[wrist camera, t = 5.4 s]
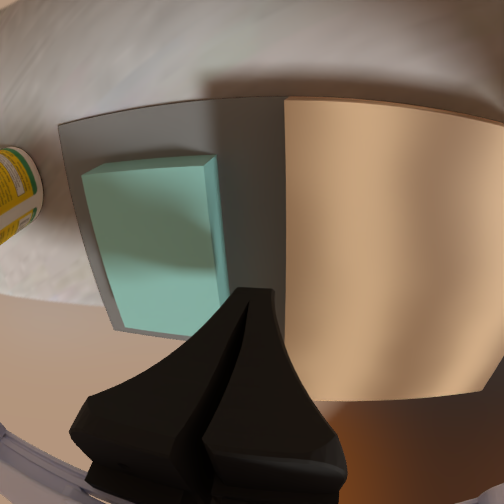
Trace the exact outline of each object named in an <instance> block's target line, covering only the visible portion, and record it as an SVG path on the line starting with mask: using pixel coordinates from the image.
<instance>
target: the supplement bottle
mask: <svg viewBox="0 0 504 504" xmlns="http://www.w3.org/2000/svg"><path fill="white" fill-rule="evenodd" d="M42 202H43V187H42V182H41V178H40V175H39V173H38V170H37V168H36V165H35V163H34V162H33V160H32V159H31V157H30V156H29V155H28V154H27V153H26V152H25V151H23V150H22V149H19V148H17V147H7V148H4V149H1V150H0V245H1V244H3V243H4V242H5V241H7V240H8V239H9V238H10V237H12V236H13V235H15V234H16V233H17V232H19V231H20V230H21V229H23V228H24V227H26V226H27V225H28V224H30V223H31V222H32V221H34V220H35V218H36V217H37V216H38V214H39V212H40V210H41V207H42Z"/></svg>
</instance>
